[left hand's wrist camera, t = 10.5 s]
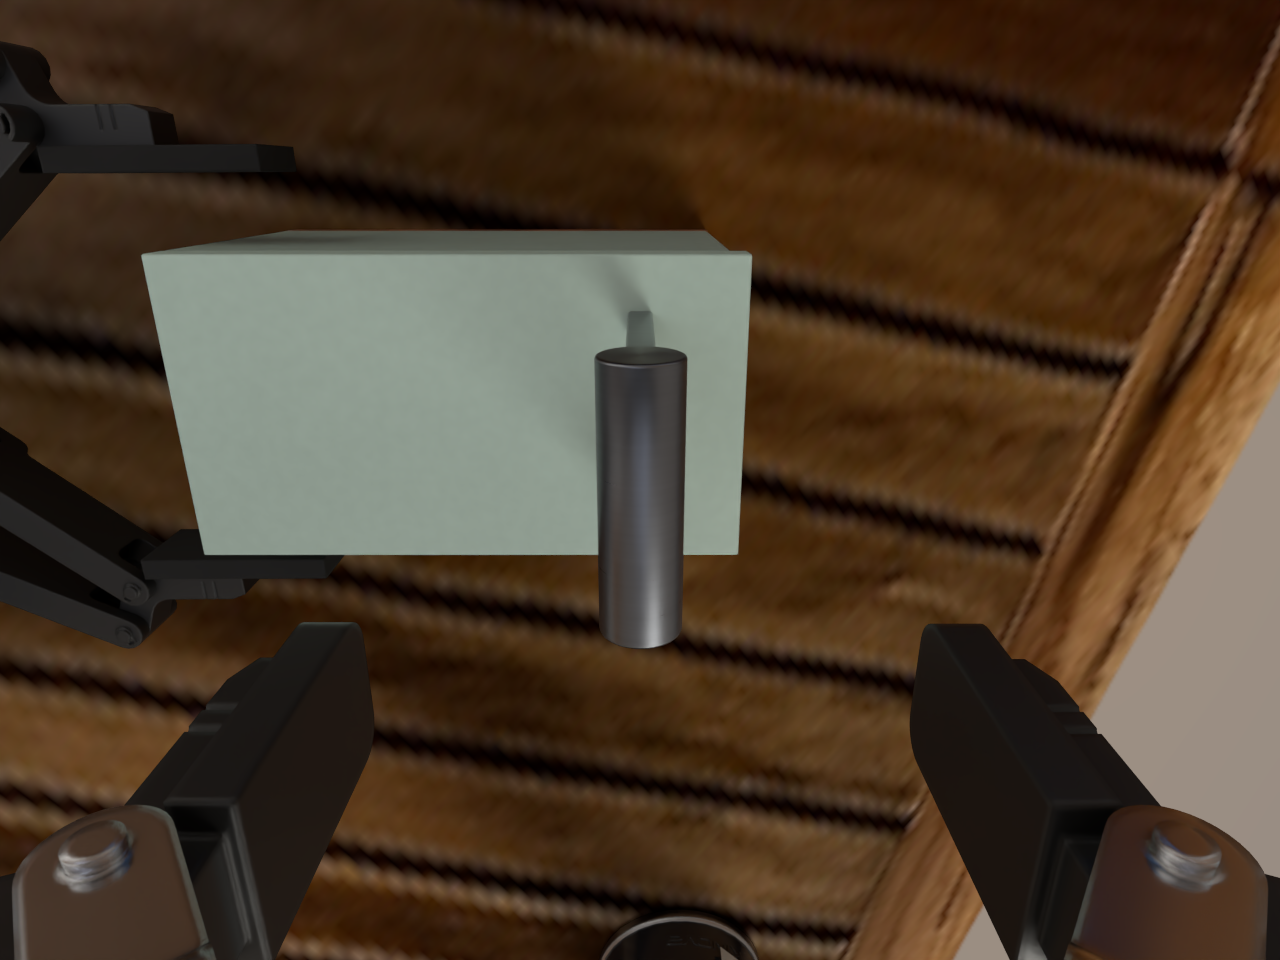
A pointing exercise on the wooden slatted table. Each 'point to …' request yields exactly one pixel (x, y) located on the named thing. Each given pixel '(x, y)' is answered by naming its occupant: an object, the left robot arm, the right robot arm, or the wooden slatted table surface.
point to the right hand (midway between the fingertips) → (312, 372)
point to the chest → (472, 240)
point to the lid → (465, 407)
